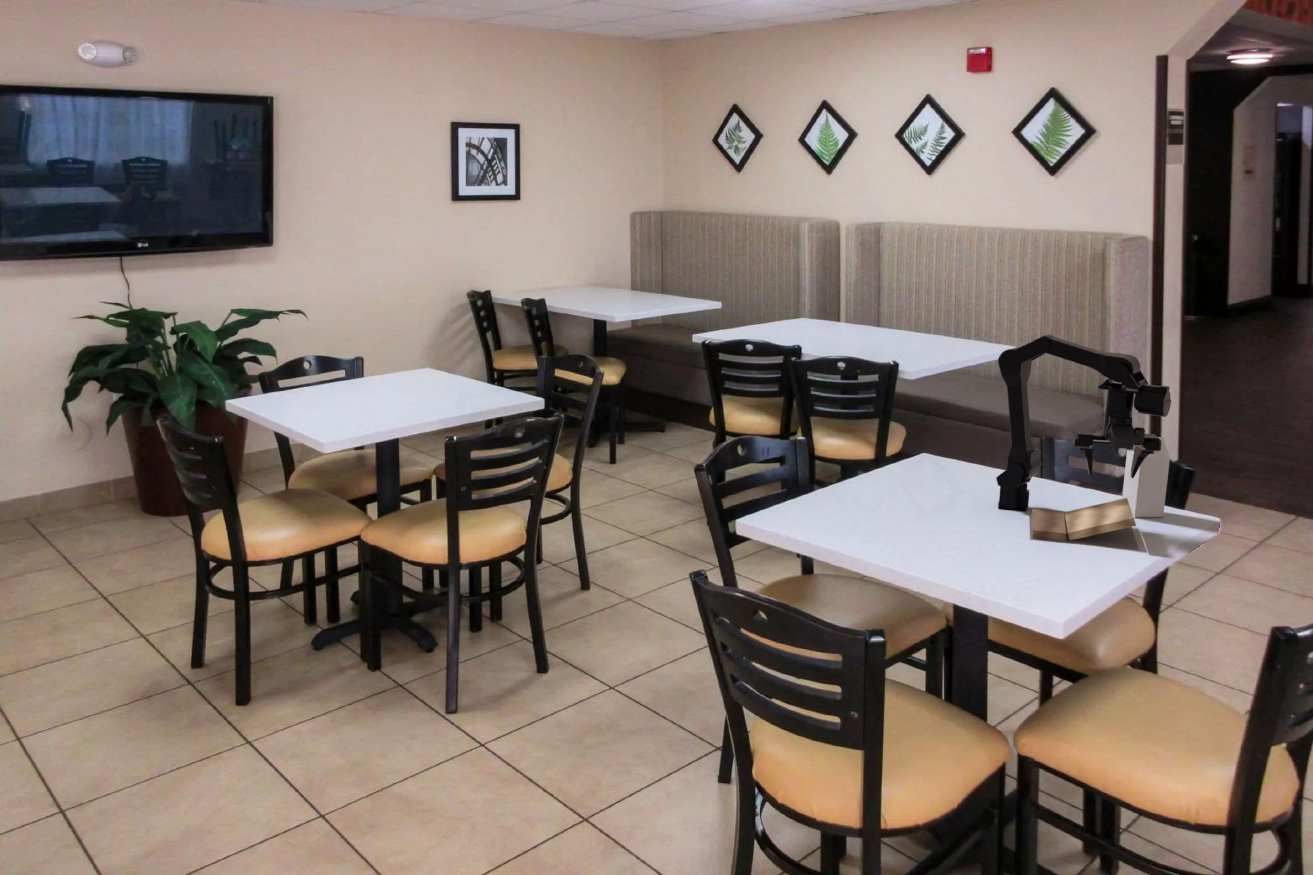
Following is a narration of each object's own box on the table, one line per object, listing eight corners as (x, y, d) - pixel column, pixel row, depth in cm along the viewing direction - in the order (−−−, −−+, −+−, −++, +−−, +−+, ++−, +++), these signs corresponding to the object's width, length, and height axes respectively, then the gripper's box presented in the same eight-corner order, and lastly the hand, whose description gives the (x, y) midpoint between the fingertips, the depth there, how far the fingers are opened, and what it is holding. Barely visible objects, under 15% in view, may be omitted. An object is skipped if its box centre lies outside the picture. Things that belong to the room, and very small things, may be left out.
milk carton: (1120, 509, 274) (1128, 434, 270) (1148, 509, 275) (1156, 434, 271) (1134, 518, 267) (1143, 440, 263) (1163, 517, 268) (1172, 440, 264)
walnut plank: (1032, 538, 250) (1033, 530, 249) (1031, 516, 266) (1032, 508, 266) (1065, 541, 248) (1066, 533, 247) (1062, 519, 264) (1063, 511, 264)
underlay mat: (1029, 541, 249) (1030, 539, 249) (1029, 516, 268) (1029, 515, 267) (1138, 551, 242) (1139, 549, 242) (1130, 525, 261) (1130, 524, 261)
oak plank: (1070, 540, 248) (1067, 532, 248) (1066, 519, 264) (1064, 512, 263) (1136, 525, 243) (1133, 517, 243) (1128, 504, 259) (1126, 497, 258)
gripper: (1083, 415, 248) (1075, 483, 251) (1172, 419, 245) (1163, 488, 248) (1073, 405, 259) (1066, 470, 262) (1158, 409, 256) (1150, 475, 259)
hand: (1111, 476), depth 258 cm, fingers open, 9 cm apart
